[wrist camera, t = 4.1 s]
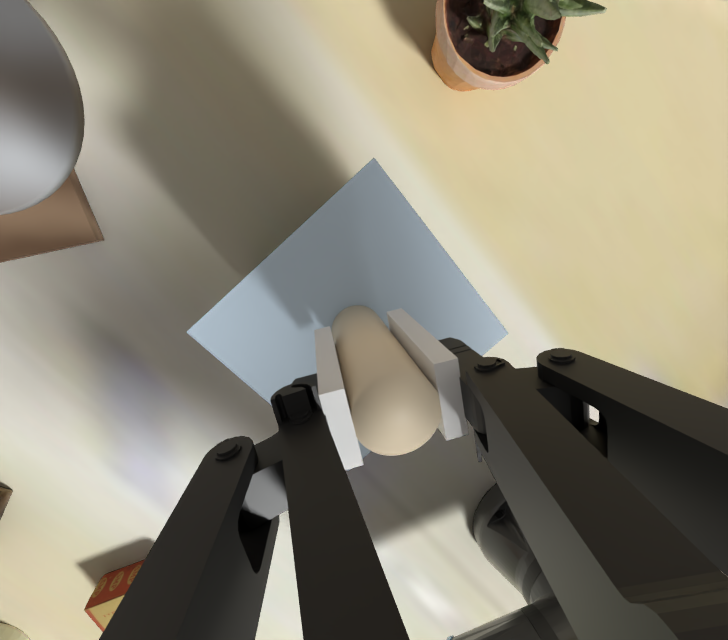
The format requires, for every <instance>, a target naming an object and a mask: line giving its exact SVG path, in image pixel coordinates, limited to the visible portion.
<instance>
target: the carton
mask: <svg viewBox="0 0 728 640" xmlns="http://www.w3.org/2000/svg"><path fill="white" fill-rule="evenodd" d="M144 561H145V560H142V561H140V562H137V563H134V564H132V565H129V566H126V567H124V568H121V569H118V570H116V571H113V572H110V573H107V574H105V575H104V576H103V577H102V578H101V580H100V581H99V583H98V585H97V586H96V588H95V590H94V592H93V593H92V595H91V597H90V599H89V601H88V603H87V605H86V607H85V609H84V611H85V612H86V613H87V614H88V615H89V617H90V618H91V619H92V620H93V621H94V622H95V623H96V625H97V626H98V627H99V628H100V629H101V630H102V631H103V632H104V630H105V628H106V626H107V625H108V623H109V621H110V619H111V618H112V616H113V614H114V613H115V611H116V609H117V607H118V606H119V604H120V602H121V600H122V599H123V597H124V595H125V593H126V592H127V590H128V588H129V587H130V585H131V583H132V581H133V580H134V578H135V576H136V574H137V573H138V571H139V569H140V568H141V566H142V564H143V562H144Z"/></svg>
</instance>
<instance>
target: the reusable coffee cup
mask: <svg viewBox="0 0 728 640" xmlns="http://www.w3.org/2000/svg"><path fill="white" fill-rule="evenodd" d="M0 640H30V639H29V637H28V636H27V635H26V634H25V633H24V632H22V631H21V630H19V629H18V628H16V627H13V626H11V625H8V624H4V623H0Z"/></svg>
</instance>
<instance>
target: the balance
mask: <svg viewBox="0 0 728 640" xmlns="http://www.w3.org/2000/svg"><path fill="white" fill-rule="evenodd" d="M83 137H84V108H83V101H82V96H81V91H80V87H79V84H78V81H77V78H76V75H75V72H74V69H73V67H72V65H71V63H70V60H69V58H68V56H67V54H66V52H65V50H64V49H63V47H62V45H61V44H60V42H59V40H58V38H57V37H56V35H55V34H54V32H53V31H52V30H51V28H50V27H49V26H48V24H47V23H46V22H45V20H44V19H43V18H42V17H41V16H40V14H39V13H38V12H37V11H36V10H35V9H34V8H33V7H32V6H31V4H30V3H29V2H28V1H27V0H0V263H1V262H5V261H10V260H15V259H19V258H24V257H29V256H33V255H38V254H43V253H47V252H52V251H57V250H61V249H66V248H71V247H75V246H80V245H85V244H89V243H94V242H99V241H103V240H104V238H103V236H102V234H101V231H100V229H99V227H98V224H97V222H96V220H95V217H94V215H93V212H92V210H91V208H90V205H89V203H88V201H87V198H86V196H85V194H84V191H83V189H82V187H81V184H80V182H79V180H78V177H77V175H76V173H75V170H74V166H75V165H76V162H77V159H78V157H79V154H80V151H81V147H82V142H83Z"/></svg>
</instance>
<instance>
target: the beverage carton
mask: <svg viewBox="0 0 728 640" xmlns="http://www.w3.org/2000/svg"><path fill="white" fill-rule="evenodd" d="M11 494H12V490H10V489H5V488H2V487H0V519H1V517H2V515H3V513H4V510H5V508H6V506H7V503H8V501H9V499H10V496H11Z"/></svg>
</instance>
